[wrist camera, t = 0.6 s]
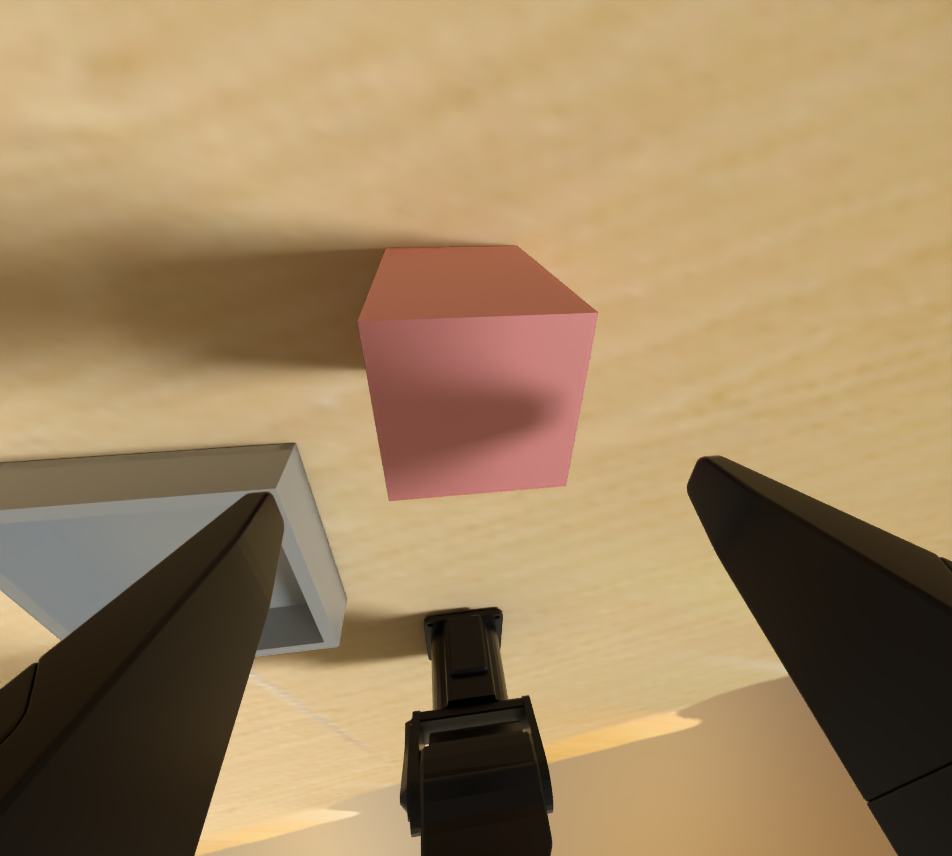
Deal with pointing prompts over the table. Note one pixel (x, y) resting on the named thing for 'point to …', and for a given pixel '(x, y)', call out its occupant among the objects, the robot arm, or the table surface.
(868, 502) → the table surface
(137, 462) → the bin
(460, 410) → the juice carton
